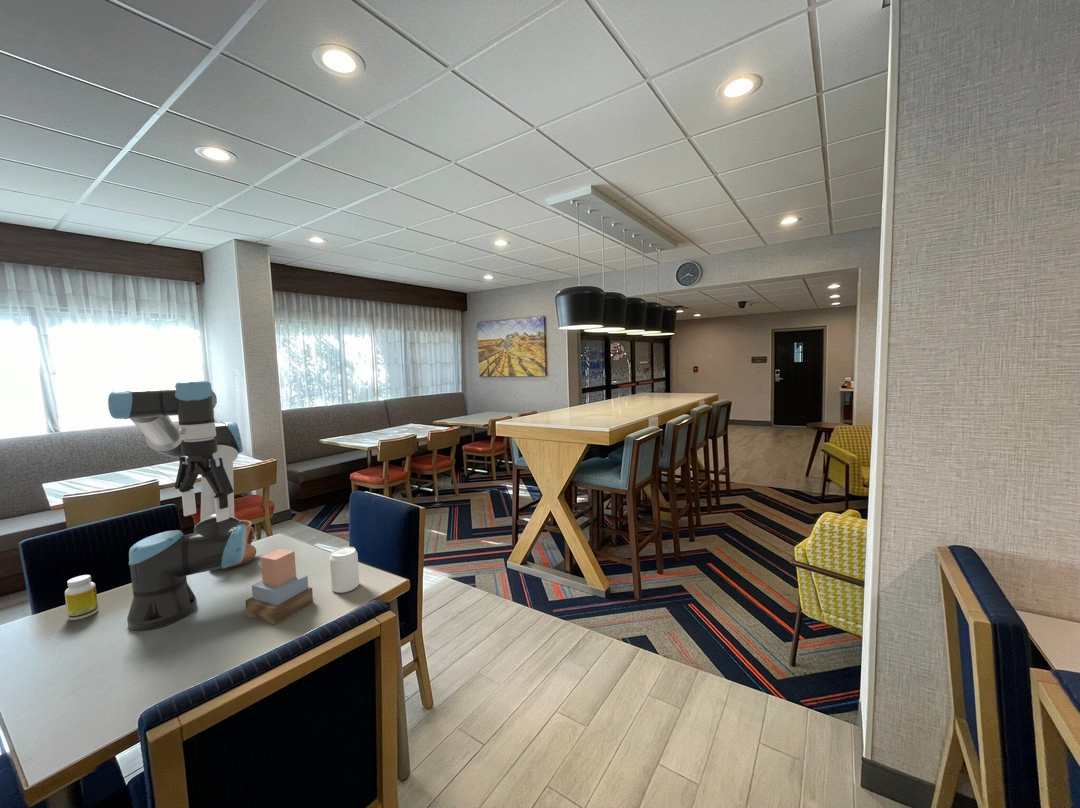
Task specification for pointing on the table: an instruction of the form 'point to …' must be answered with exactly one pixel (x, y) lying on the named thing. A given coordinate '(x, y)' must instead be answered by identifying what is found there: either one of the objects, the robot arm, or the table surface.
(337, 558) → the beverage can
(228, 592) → the table surface
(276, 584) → the terracotta block
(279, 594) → the slate block
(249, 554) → the ceramic jug
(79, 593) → the pill bottle
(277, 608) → the walnut block
